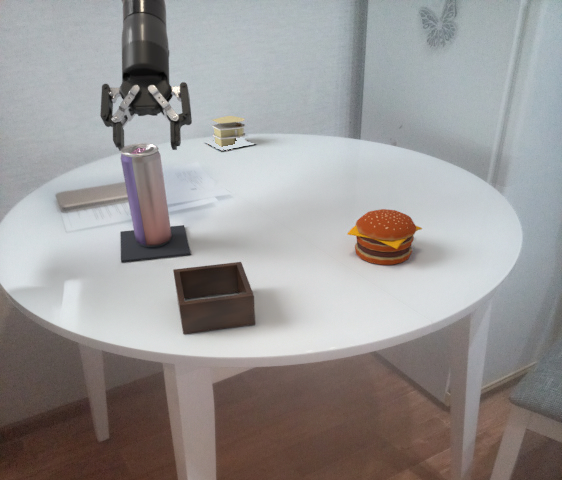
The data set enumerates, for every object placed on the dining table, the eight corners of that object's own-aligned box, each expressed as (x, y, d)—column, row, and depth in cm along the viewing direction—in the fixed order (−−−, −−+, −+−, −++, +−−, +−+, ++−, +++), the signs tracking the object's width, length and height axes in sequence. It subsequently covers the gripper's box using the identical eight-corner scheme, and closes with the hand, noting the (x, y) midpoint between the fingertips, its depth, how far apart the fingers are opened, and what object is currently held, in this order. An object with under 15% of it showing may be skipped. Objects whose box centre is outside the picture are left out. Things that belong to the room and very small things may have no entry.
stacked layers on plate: (221, 152, 131) (219, 127, 127) (203, 142, 137) (201, 118, 133) (257, 144, 135) (256, 120, 132) (238, 135, 141) (237, 112, 138)
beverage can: (130, 246, 92) (112, 153, 83) (145, 231, 96) (129, 141, 87) (163, 250, 91) (149, 156, 81) (177, 235, 95) (165, 144, 86)
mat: (121, 262, 89) (120, 260, 88) (120, 233, 97) (120, 231, 97) (190, 255, 90) (190, 252, 90) (184, 227, 99) (184, 225, 99)
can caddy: (183, 334, 73) (179, 305, 70) (177, 297, 80) (173, 269, 77) (255, 324, 75) (254, 295, 72) (242, 289, 82) (241, 261, 79)
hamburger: (343, 256, 90) (346, 217, 86) (371, 235, 96) (374, 197, 92) (397, 272, 86) (402, 231, 81) (422, 249, 92) (428, 210, 88)
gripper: (94, 38, 88) (95, 137, 86) (185, 37, 88) (188, 134, 87) (108, 69, 95) (109, 160, 93) (191, 68, 96) (194, 158, 94)
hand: (147, 148), depth 90 cm, fingers open, 8 cm apart
